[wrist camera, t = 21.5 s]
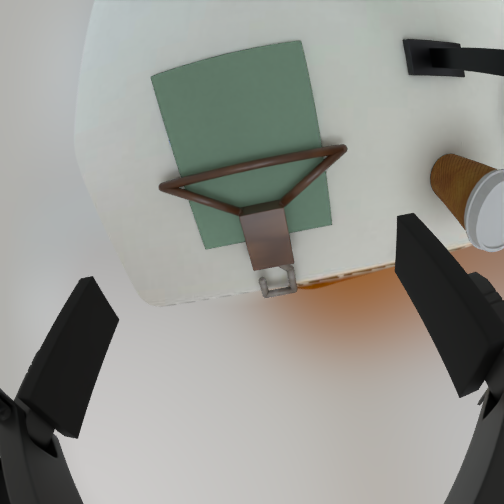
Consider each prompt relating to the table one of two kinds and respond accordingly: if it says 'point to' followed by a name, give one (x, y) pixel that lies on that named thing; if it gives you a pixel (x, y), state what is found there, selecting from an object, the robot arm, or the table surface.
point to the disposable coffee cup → (472, 198)
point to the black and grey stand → (450, 59)
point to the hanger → (262, 210)
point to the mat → (245, 134)
